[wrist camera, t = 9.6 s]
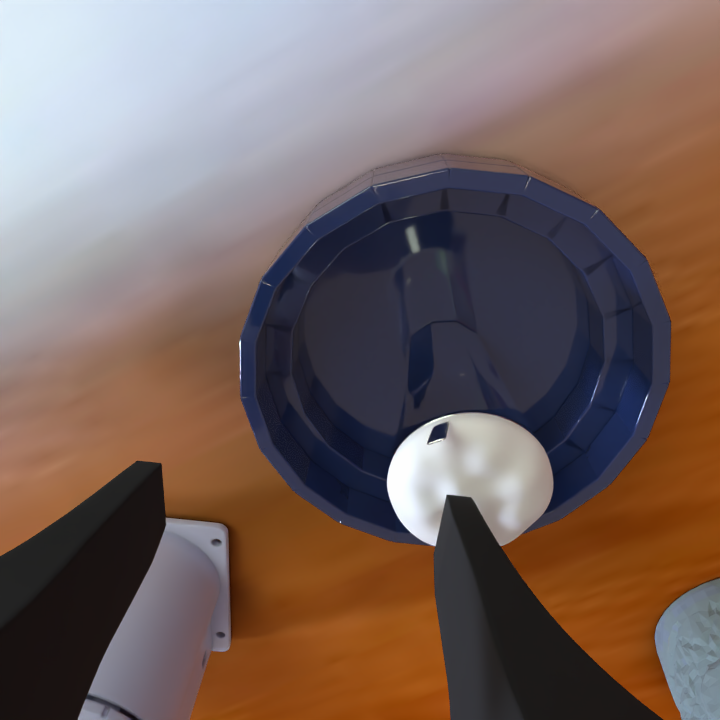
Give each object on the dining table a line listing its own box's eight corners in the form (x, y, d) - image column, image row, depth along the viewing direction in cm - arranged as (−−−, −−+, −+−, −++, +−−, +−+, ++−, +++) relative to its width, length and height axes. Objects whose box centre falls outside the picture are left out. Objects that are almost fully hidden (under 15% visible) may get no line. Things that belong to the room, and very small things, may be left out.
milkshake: (474, 268, 21) (536, 409, 12) (514, 384, 23) (591, 576, 14) (363, 310, 22) (345, 469, 13) (411, 417, 24) (423, 616, 15)
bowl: (571, 498, 26) (599, 564, 23) (261, 466, 27) (241, 527, 23) (680, 175, 20) (743, 196, 16) (264, 133, 20) (236, 146, 16)
